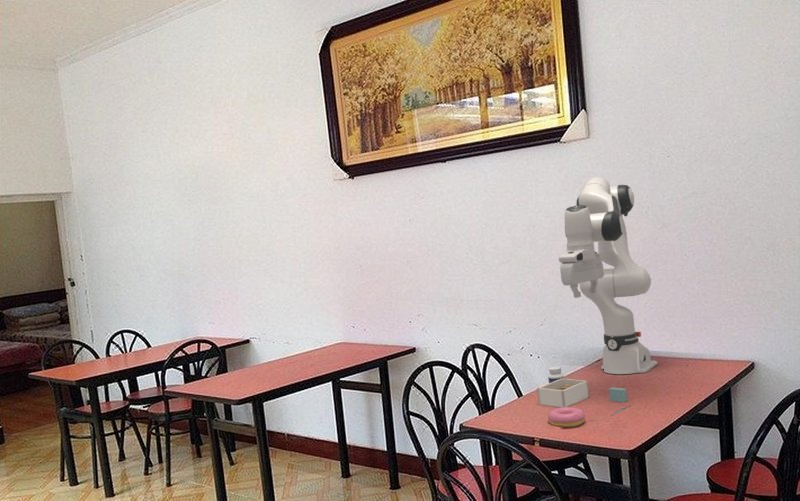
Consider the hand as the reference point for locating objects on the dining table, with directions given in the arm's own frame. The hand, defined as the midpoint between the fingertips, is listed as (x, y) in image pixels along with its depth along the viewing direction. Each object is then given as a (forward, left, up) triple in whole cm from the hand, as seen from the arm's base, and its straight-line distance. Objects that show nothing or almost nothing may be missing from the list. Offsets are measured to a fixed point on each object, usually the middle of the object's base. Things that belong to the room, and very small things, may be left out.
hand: (585, 295), depth 237 cm
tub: (+11, -5, -34) cm, 36 cm away
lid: (+10, +11, -35) cm, 38 cm away
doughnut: (+29, +9, -34) cm, 46 cm away
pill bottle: (+2, -14, -34) cm, 37 cm away
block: (+8, -5, -34) cm, 35 cm away
